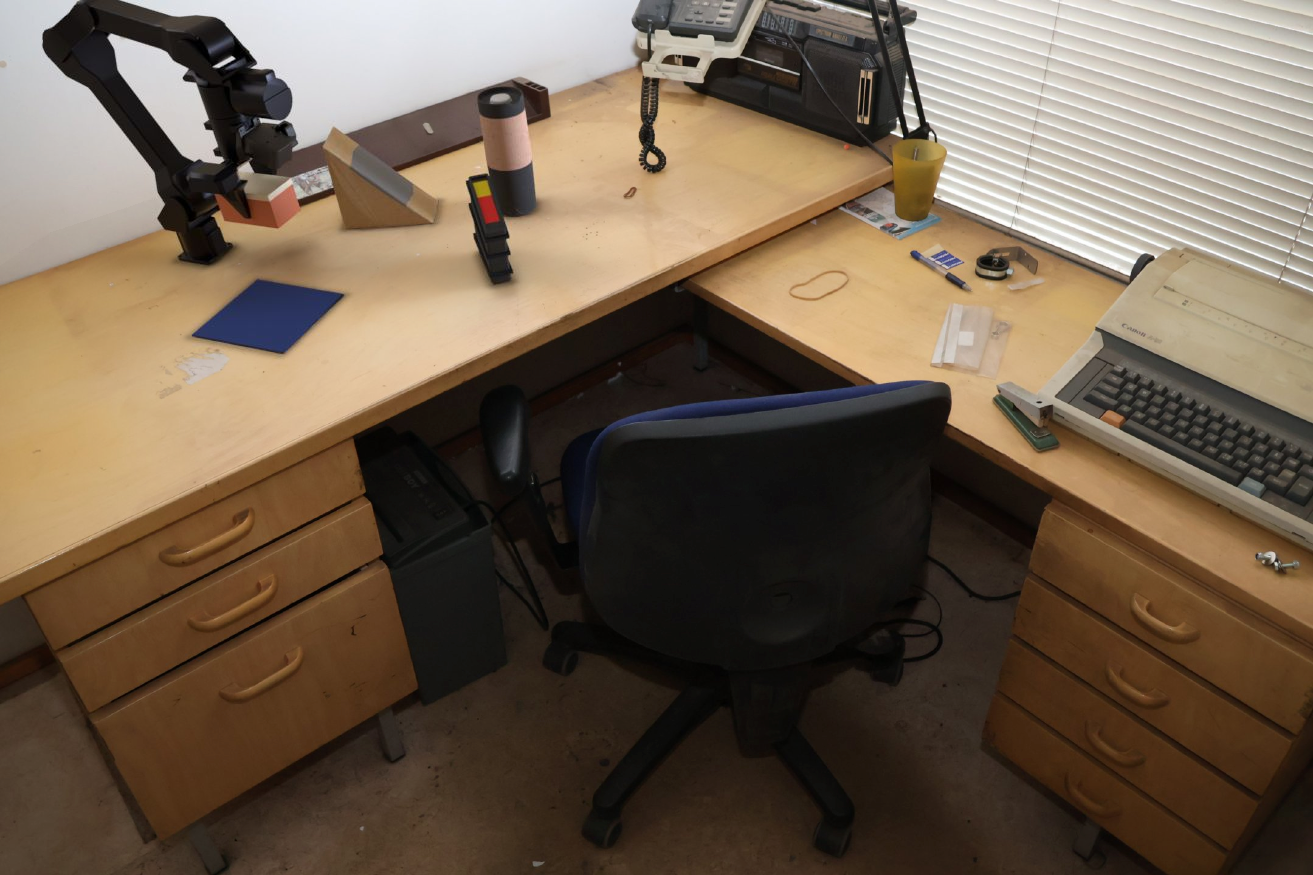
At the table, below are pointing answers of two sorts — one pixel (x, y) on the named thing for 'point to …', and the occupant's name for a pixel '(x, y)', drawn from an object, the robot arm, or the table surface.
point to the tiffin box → (264, 201)
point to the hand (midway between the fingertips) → (260, 208)
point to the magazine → (489, 228)
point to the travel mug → (508, 149)
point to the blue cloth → (268, 316)
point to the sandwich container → (373, 188)
